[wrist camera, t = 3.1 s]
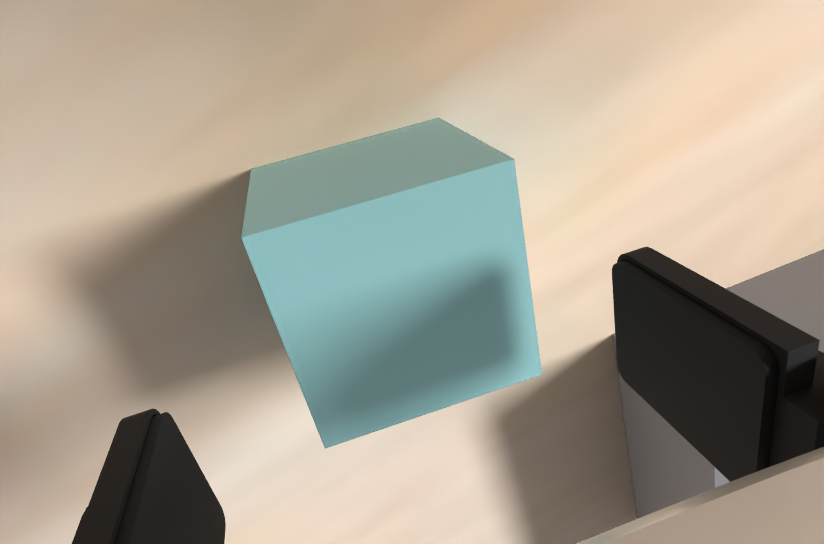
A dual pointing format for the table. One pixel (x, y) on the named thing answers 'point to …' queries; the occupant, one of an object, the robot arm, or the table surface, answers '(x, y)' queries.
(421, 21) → the table surface
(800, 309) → the gray block
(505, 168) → the teal cube
